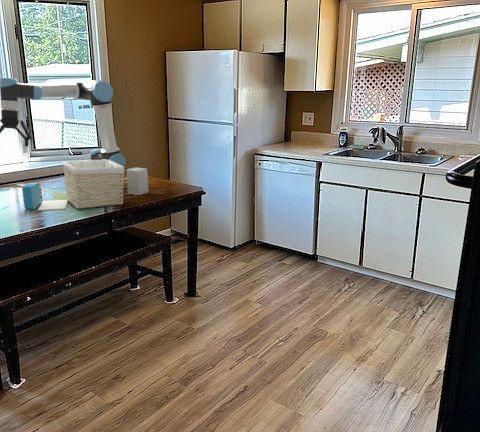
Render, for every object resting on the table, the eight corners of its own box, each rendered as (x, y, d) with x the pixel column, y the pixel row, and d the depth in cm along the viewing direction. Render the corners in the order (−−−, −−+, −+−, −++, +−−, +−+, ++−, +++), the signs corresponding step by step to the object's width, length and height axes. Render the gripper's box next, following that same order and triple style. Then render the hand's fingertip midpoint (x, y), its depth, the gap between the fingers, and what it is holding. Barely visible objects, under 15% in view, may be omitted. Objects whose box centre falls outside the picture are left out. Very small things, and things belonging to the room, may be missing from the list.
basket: (111, 194, 261) (110, 157, 255) (127, 204, 239) (126, 165, 233) (63, 199, 246) (60, 160, 240) (76, 210, 225) (73, 168, 219)
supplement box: (149, 193, 266) (148, 168, 262) (139, 196, 258) (138, 170, 254) (136, 191, 269) (135, 167, 265) (127, 194, 262) (125, 169, 257)
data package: (33, 203, 238) (30, 182, 235) (41, 203, 239) (39, 182, 235) (24, 209, 227) (21, 187, 223) (33, 209, 227) (31, 187, 224)
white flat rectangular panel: (68, 200, 245) (68, 199, 245) (65, 209, 229) (65, 208, 229) (43, 202, 242) (42, 200, 242) (38, 210, 225) (37, 209, 225)
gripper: (-21, 107, 218) (-18, 150, 223) (32, 111, 221) (34, 154, 226) (-14, 107, 225) (-12, 149, 230) (37, 111, 228) (38, 152, 233)
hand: (11, 151), depth 228 cm, fingers open, 13 cm apart
